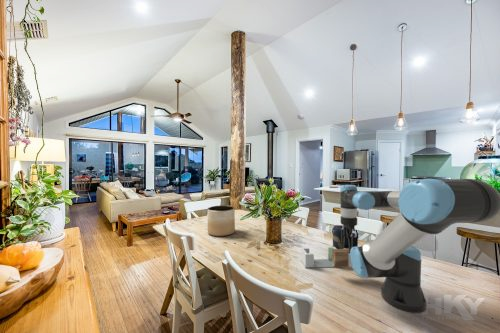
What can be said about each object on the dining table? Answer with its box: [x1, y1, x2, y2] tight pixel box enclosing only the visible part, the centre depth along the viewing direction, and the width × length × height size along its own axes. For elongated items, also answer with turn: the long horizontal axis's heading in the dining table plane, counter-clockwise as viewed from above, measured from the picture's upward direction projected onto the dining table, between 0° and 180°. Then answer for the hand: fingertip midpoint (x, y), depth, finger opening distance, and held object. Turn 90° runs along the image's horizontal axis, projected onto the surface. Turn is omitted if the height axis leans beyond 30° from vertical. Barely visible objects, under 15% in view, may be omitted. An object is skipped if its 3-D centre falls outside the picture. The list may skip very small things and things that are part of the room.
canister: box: [332, 224, 344, 249], centre depth 134 cm, size 10×10×18 cm
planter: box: [207, 204, 236, 237], centre depth 176 cm, size 22×22×20 cm
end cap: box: [326, 246, 336, 266], centre depth 122 cm, size 9×4×7 cm, turn 2°
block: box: [332, 249, 353, 268], centre depth 107 cm, size 4×12×7 cm, turn 88°
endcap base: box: [300, 247, 338, 269], centre depth 122 cm, size 9×20×7 cm, turn 92°
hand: (349, 263), depth 107 cm, fingers closed on block, 4 cm apart
